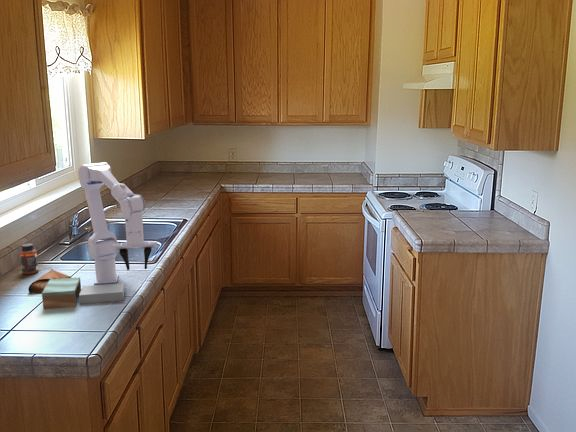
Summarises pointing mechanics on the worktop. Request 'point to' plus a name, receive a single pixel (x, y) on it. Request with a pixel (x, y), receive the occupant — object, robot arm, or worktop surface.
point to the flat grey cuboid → (102, 293)
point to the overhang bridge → (61, 293)
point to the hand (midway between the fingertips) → (137, 268)
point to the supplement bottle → (28, 259)
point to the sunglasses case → (45, 281)
